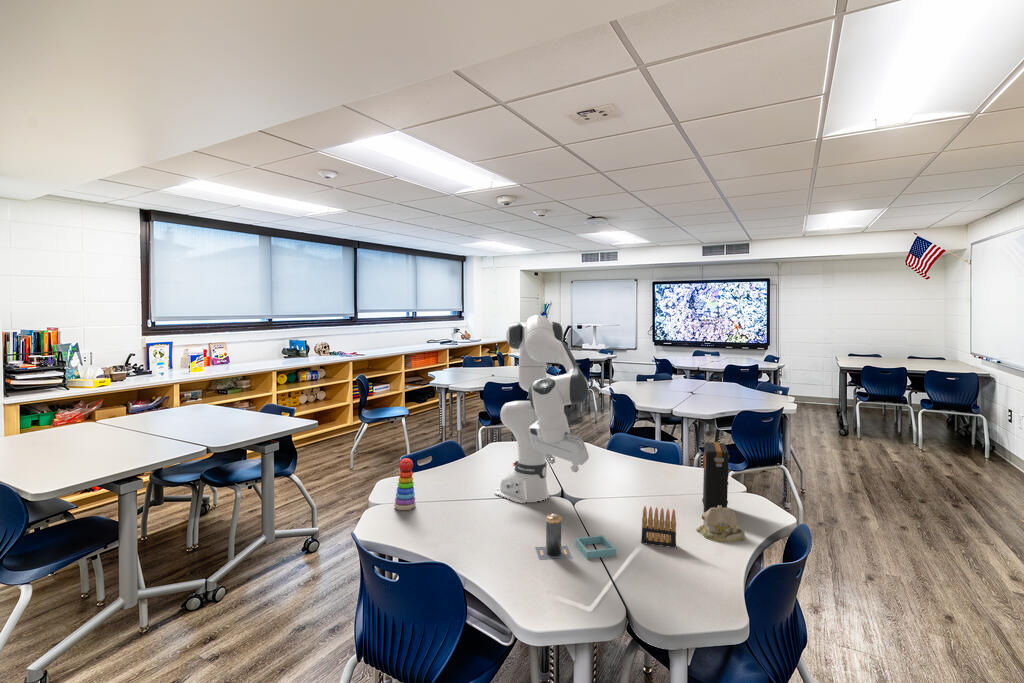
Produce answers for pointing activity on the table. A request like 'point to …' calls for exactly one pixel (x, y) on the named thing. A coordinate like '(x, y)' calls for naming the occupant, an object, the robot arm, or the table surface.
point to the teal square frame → (595, 553)
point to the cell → (553, 534)
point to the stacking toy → (405, 487)
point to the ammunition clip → (659, 528)
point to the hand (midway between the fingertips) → (563, 466)
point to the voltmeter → (715, 475)
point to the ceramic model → (721, 525)
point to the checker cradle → (543, 556)
